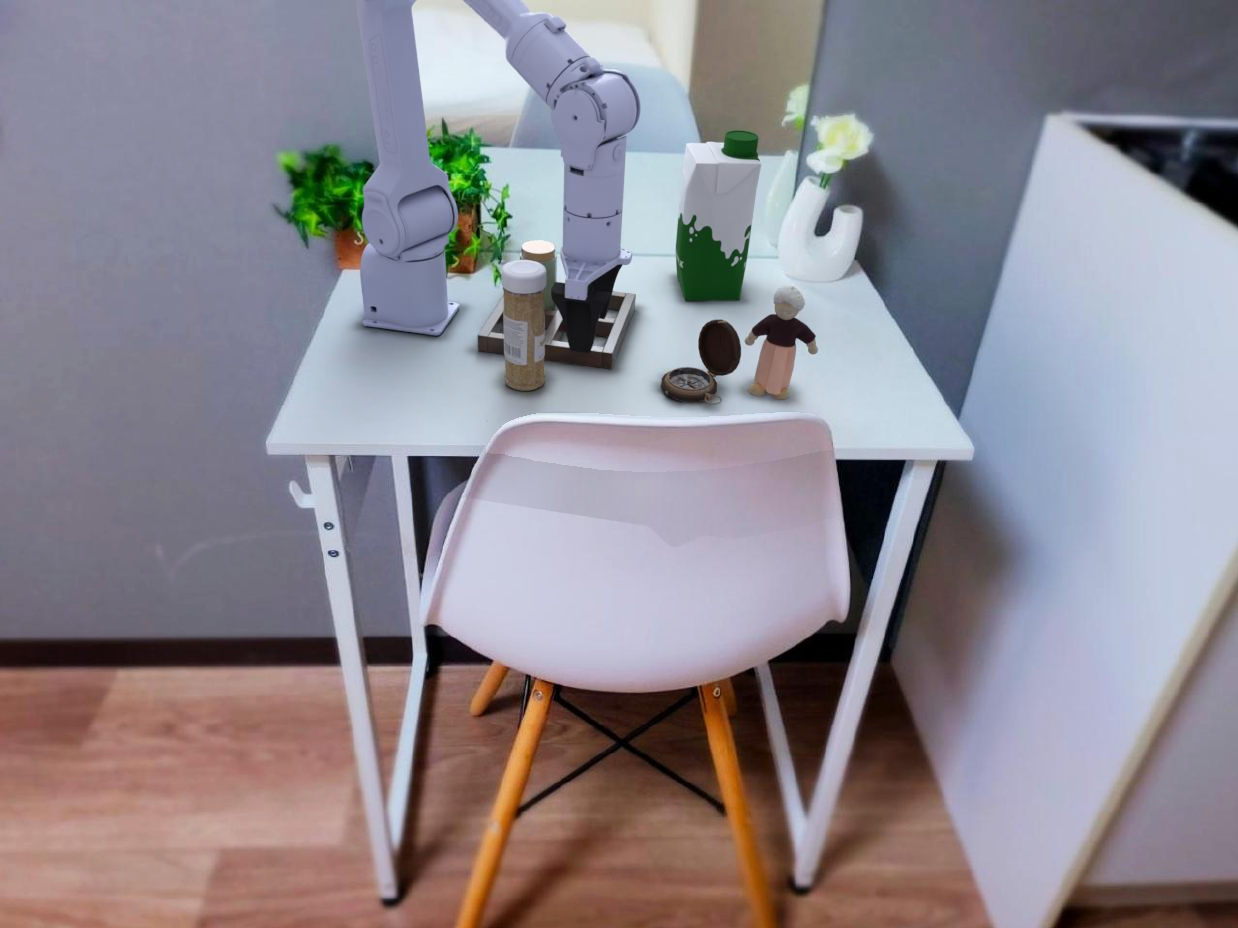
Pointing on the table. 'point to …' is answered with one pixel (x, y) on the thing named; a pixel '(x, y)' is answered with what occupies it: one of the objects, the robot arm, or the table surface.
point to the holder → (554, 324)
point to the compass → (706, 364)
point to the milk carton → (716, 216)
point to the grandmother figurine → (780, 343)
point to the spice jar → (548, 258)
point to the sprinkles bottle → (524, 324)
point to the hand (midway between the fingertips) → (588, 333)
